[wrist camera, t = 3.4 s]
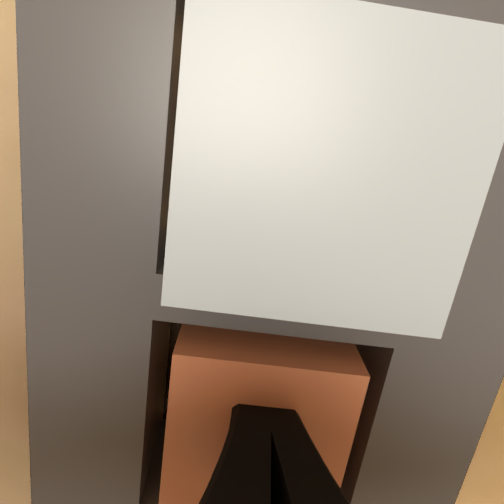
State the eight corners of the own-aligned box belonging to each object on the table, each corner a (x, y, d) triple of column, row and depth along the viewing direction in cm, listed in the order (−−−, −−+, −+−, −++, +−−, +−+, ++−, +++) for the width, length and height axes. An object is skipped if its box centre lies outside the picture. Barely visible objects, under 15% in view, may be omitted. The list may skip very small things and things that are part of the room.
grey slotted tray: (77, 583, 15) (37, 694, 12) (93, -510, 7) (-15, -952, 4) (349, 605, 15) (373, 715, 13) (656, -379, 7) (912, -685, 5)
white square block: (188, 242, 9) (160, 305, 6) (210, 27, 7) (188, -28, 4) (377, 266, 9) (440, 339, 6) (428, 61, 8) (539, 29, 5)
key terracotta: (178, 415, 12) (158, 507, 9) (191, 292, 11) (172, 354, 8) (311, 429, 12) (331, 523, 10) (338, 310, 11) (370, 377, 8)
